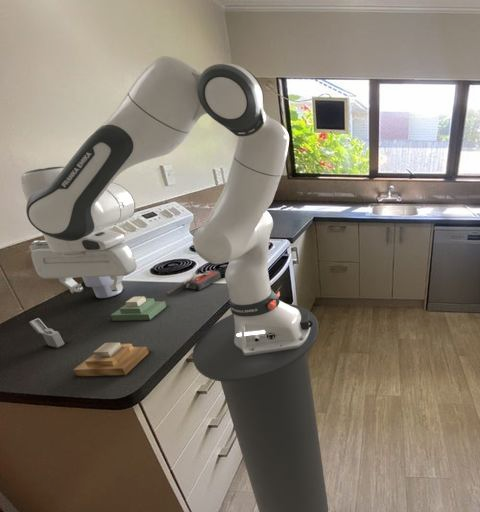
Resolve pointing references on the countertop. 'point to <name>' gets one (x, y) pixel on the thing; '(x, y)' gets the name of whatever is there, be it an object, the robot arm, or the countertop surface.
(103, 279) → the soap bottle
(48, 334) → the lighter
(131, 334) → the countertop surface
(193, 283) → the walkie-talkie
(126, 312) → the key block
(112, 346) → the near key
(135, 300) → the far key
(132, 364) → the key block
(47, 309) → the countertop surface
